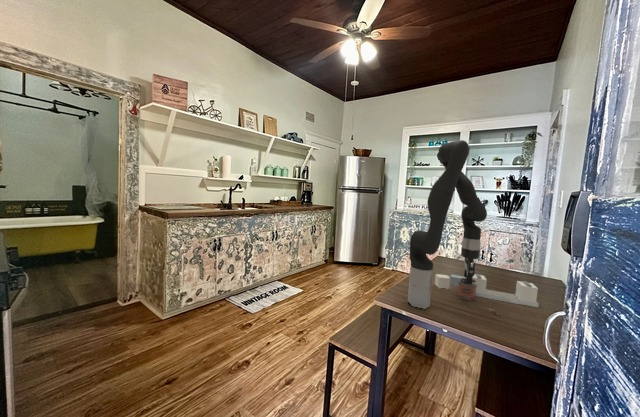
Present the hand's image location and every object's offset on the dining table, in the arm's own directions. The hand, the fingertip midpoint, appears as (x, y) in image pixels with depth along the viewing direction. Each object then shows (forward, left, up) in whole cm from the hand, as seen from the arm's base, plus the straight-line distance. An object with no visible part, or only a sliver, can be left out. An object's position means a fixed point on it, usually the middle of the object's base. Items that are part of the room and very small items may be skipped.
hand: (467, 280), depth 122 cm
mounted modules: (+9, -16, -7) cm, 19 cm away
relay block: (+10, +10, -9) cm, 17 cm away
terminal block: (+17, +2, -9) cm, 19 cm away
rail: (+9, -16, -9) cm, 20 cm away
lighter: (0, 0, -9) cm, 9 cm away
